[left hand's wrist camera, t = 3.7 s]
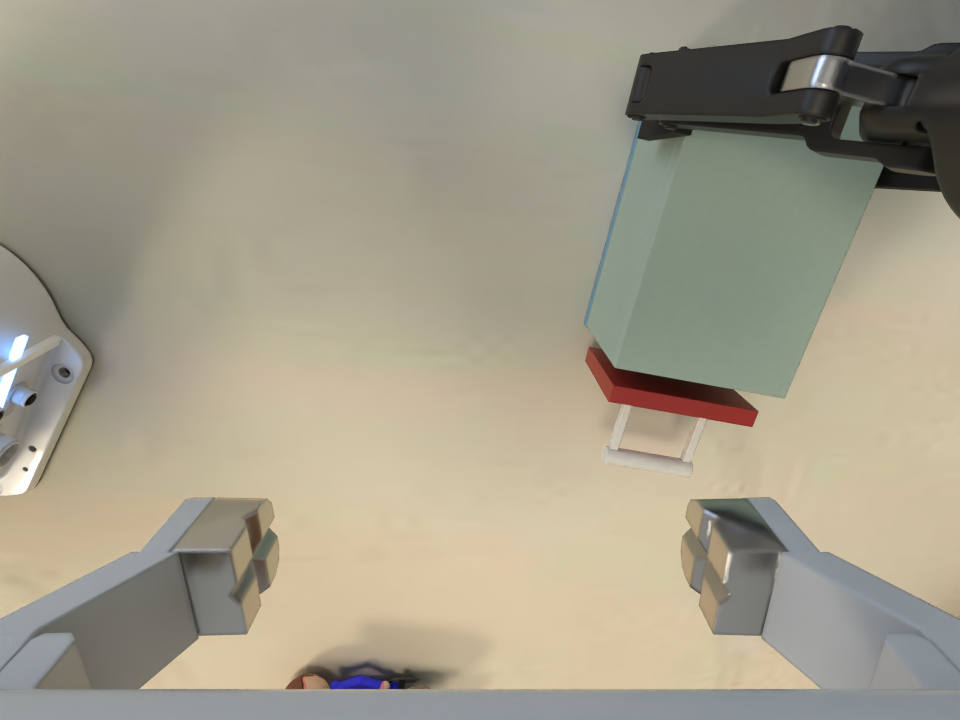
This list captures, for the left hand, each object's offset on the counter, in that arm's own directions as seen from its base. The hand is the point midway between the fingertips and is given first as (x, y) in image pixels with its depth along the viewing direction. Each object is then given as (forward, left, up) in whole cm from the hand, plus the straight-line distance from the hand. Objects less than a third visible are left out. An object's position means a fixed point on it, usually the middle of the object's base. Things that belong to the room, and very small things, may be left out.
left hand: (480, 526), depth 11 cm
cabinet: (+8, -14, -32) cm, 36 cm away
